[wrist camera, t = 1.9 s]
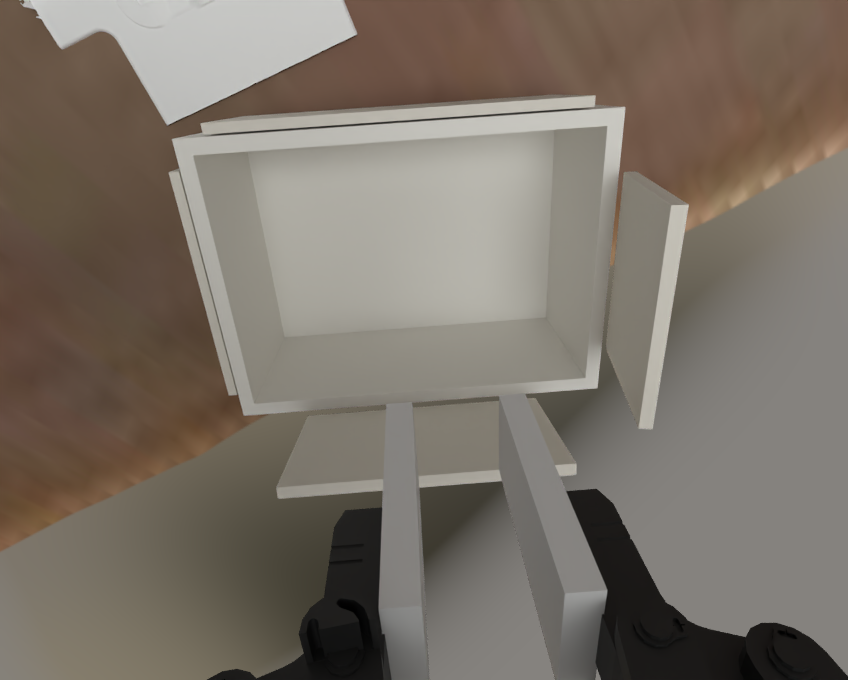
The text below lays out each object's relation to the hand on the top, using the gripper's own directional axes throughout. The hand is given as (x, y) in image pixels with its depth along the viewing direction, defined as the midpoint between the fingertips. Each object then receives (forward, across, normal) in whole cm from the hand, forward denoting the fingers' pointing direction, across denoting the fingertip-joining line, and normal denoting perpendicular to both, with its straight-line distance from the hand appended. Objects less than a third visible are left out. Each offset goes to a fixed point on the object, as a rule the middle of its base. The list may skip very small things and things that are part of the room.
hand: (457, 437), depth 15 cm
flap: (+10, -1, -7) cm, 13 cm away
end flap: (+10, +9, 0) cm, 14 cm away
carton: (+25, -1, 0) cm, 25 cm away
